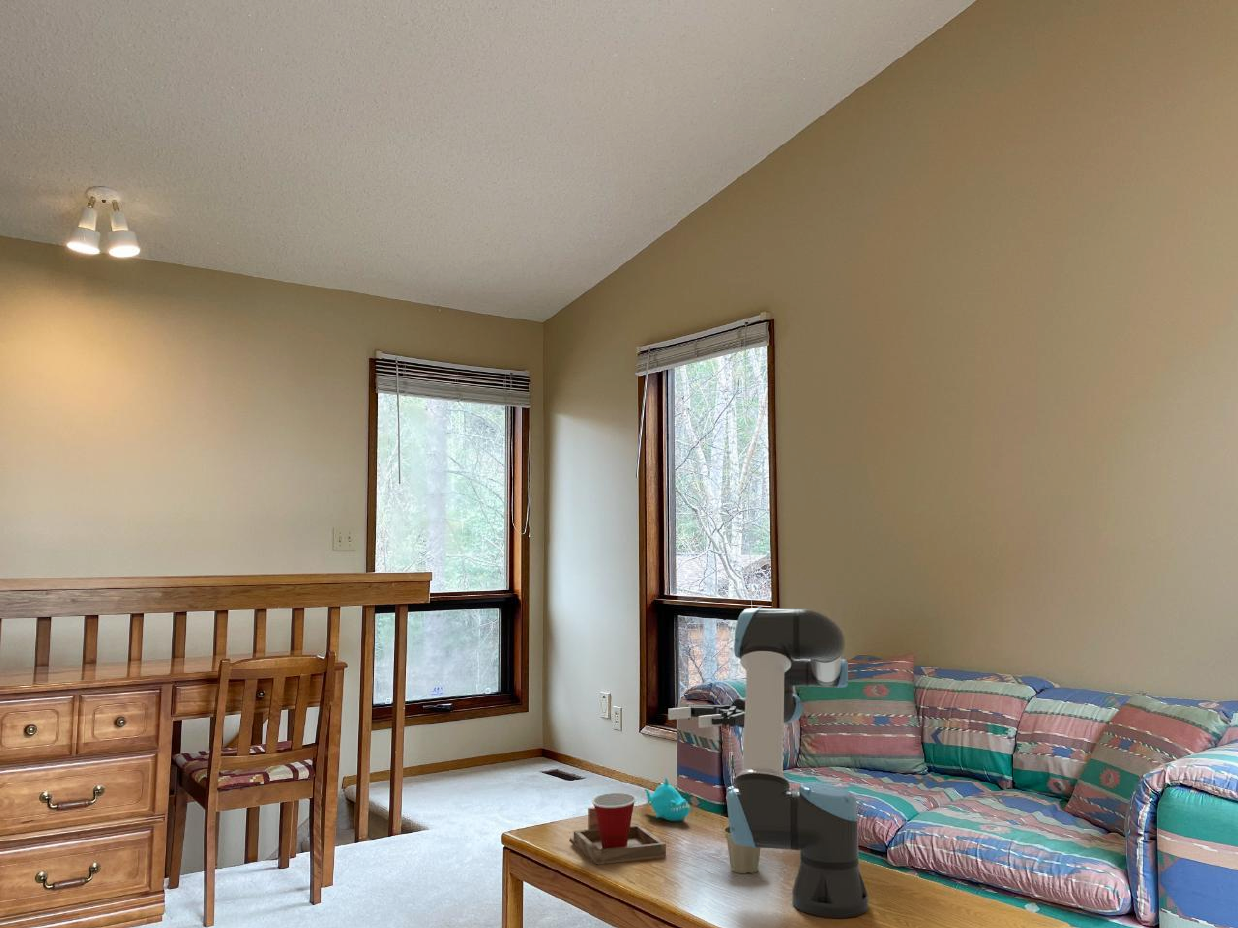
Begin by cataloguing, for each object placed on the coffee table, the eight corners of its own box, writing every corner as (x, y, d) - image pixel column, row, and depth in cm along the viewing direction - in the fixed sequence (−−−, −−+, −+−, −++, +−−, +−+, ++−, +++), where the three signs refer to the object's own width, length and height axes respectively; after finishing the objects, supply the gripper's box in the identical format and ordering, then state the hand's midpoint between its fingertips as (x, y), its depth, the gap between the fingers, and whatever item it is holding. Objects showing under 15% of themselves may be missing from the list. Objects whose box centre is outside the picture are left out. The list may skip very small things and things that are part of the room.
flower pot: (764, 877, 212) (763, 837, 213) (721, 874, 214) (721, 834, 215) (766, 864, 221) (766, 825, 222) (725, 861, 223) (725, 823, 224)
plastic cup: (581, 848, 231) (582, 797, 232) (613, 839, 239) (613, 789, 240) (614, 858, 223) (614, 805, 225) (645, 848, 231) (645, 797, 232)
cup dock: (665, 856, 226) (665, 824, 227) (596, 864, 221) (596, 830, 221) (634, 833, 246) (634, 803, 247) (569, 839, 240) (569, 808, 241)
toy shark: (673, 828, 251) (673, 786, 252) (631, 813, 265) (631, 773, 266) (701, 822, 256) (701, 781, 258) (658, 808, 271) (658, 769, 272)
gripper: (781, 733, 243) (713, 741, 232) (722, 719, 264) (657, 725, 253) (781, 703, 243) (713, 709, 233) (722, 691, 265) (657, 696, 254)
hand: (683, 717), depth 243 cm, fingers open, 13 cm apart
